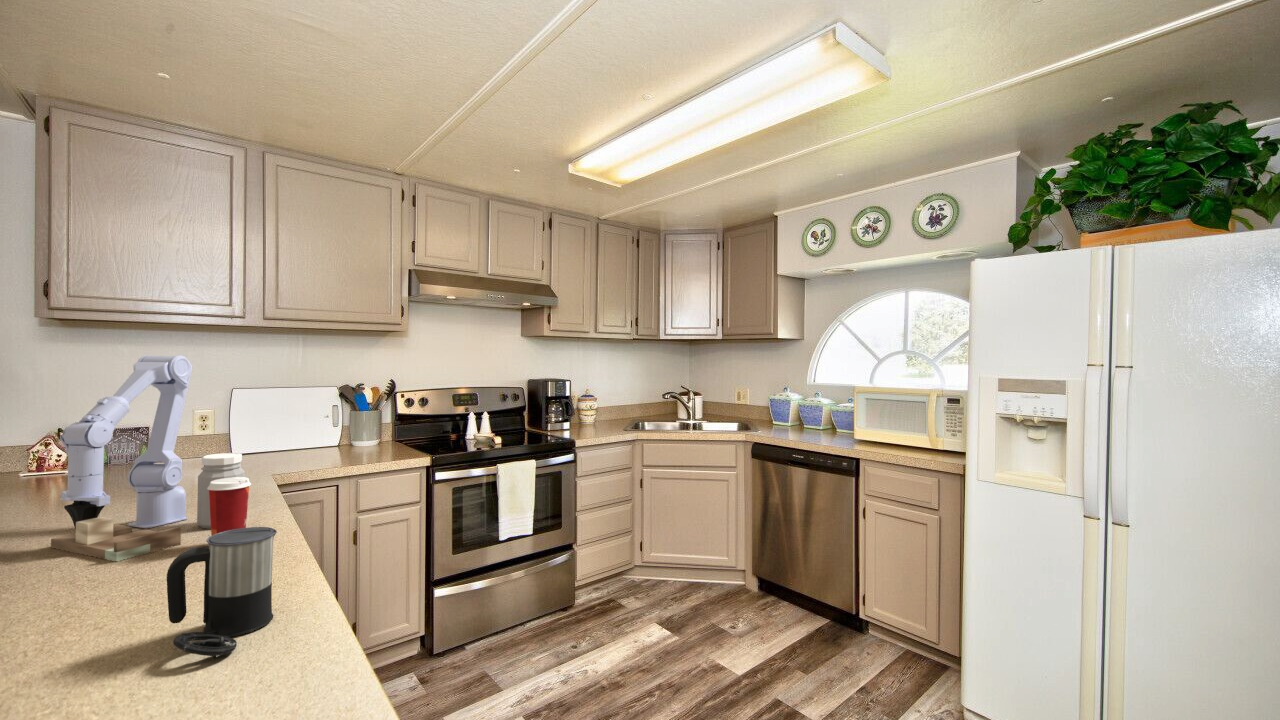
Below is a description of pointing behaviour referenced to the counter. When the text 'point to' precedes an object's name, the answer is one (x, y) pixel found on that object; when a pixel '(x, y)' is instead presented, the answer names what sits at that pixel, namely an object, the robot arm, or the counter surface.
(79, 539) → the block
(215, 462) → the jar
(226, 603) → the milk frother
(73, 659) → the counter surface
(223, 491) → the coffee cup
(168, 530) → the deck
